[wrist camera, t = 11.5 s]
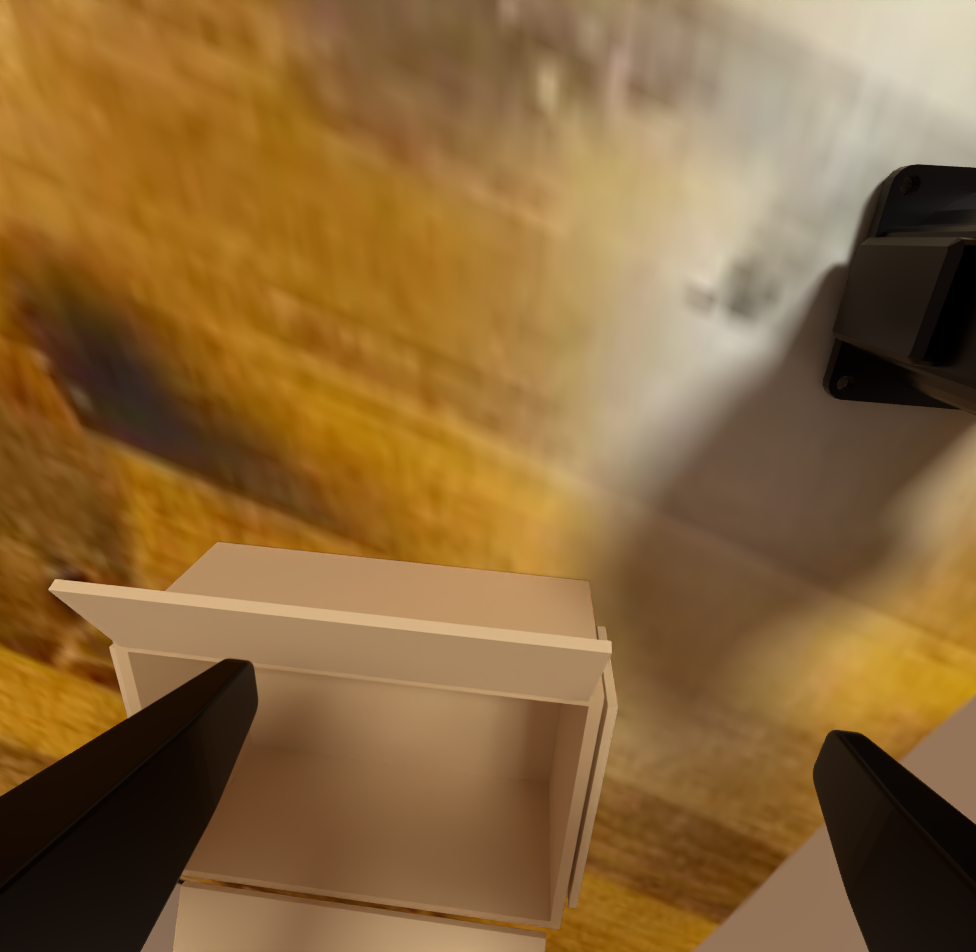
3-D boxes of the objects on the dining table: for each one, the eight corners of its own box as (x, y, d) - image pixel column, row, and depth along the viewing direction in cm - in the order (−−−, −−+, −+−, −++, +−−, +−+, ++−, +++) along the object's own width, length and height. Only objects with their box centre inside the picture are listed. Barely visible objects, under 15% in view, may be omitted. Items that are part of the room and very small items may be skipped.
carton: (603, 582, 22) (623, 700, 16) (567, 787, 26) (574, 933, 21) (204, 540, 23) (95, 638, 17) (237, 745, 27) (159, 873, 22)
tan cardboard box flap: (588, 701, 16) (588, 691, 16) (612, 653, 13) (611, 641, 13) (120, 646, 17) (125, 636, 17) (48, 589, 14) (55, 579, 14)
